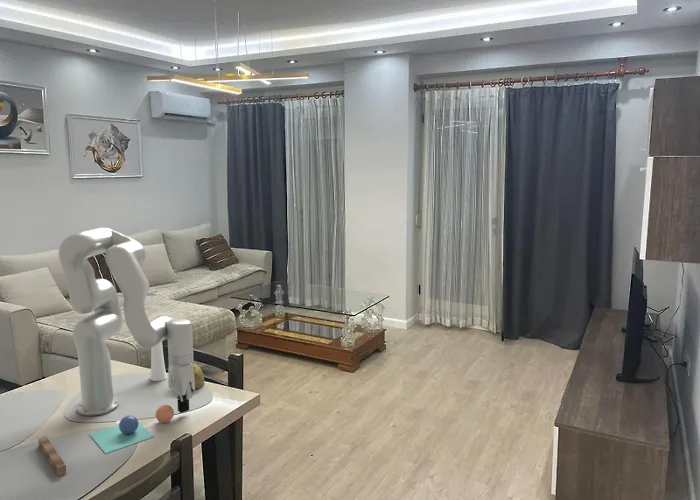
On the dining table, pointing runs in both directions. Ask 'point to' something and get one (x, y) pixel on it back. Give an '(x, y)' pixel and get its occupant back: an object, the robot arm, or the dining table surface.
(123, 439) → the teal mark
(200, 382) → the rock
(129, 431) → the navy ball
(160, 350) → the cosmetic bottle
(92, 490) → the dining table surface
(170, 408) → the orange ball
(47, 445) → the walnut rail
